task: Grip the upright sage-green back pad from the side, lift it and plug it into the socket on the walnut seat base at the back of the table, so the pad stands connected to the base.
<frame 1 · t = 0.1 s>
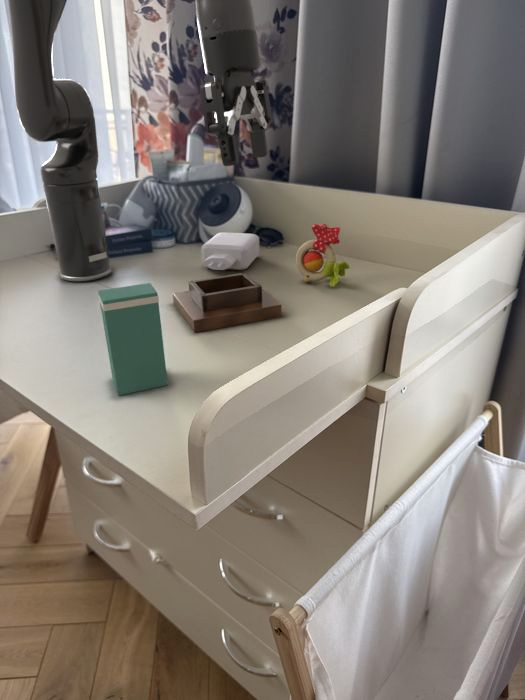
hand: (246, 161, 78), 22 cm above the table, tool pointing down, fingers open, 8 cm apart
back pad: (140, 383, 66), on the table
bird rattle: (320, 284, 97), on the table
charger: (227, 267, 106), on the table
seat base: (226, 310, 87), on the table
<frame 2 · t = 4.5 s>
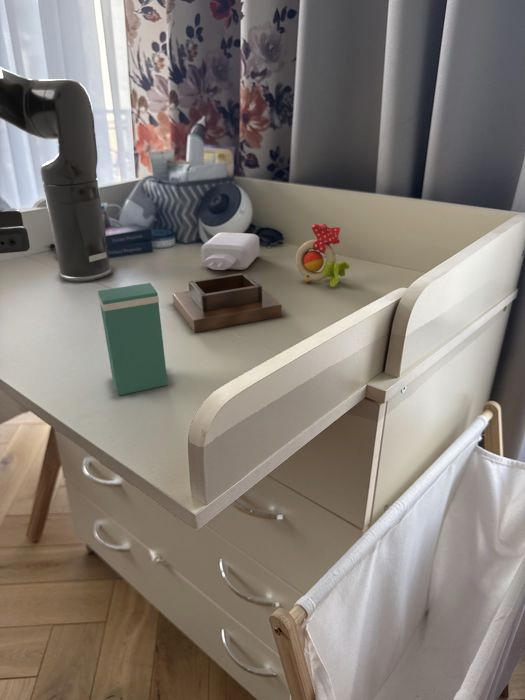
hand: (25, 228, 54), 20 cm above the table, tool horizontal, fingers open, 8 cm apart
nothing on the table moved.
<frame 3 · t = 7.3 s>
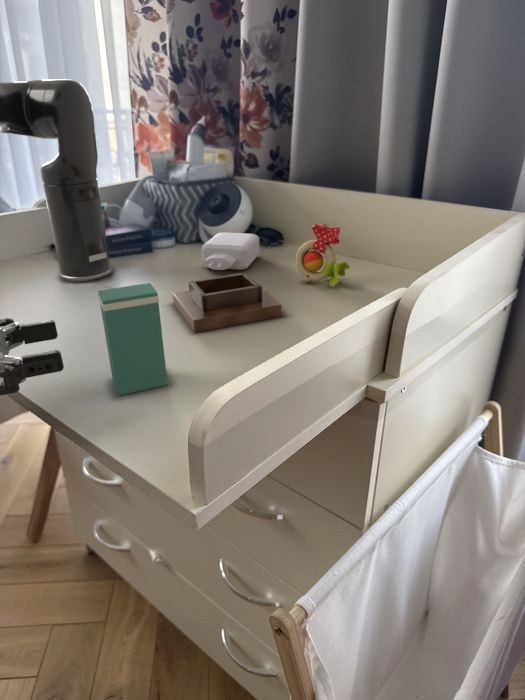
hand: (59, 343, 60), 7 cm above the table, tool horizontal, fingers open, 8 cm apart
nothing on the table moved.
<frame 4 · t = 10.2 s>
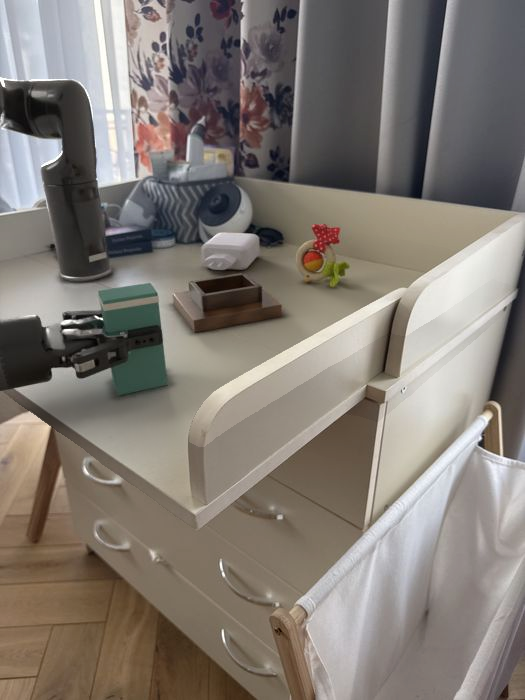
hand: (156, 327, 64), 7 cm above the table, tool horizontal, fingers closed on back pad, 3 cm apart
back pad: (140, 383, 66), on the table, touching gripper
everything else where it was.
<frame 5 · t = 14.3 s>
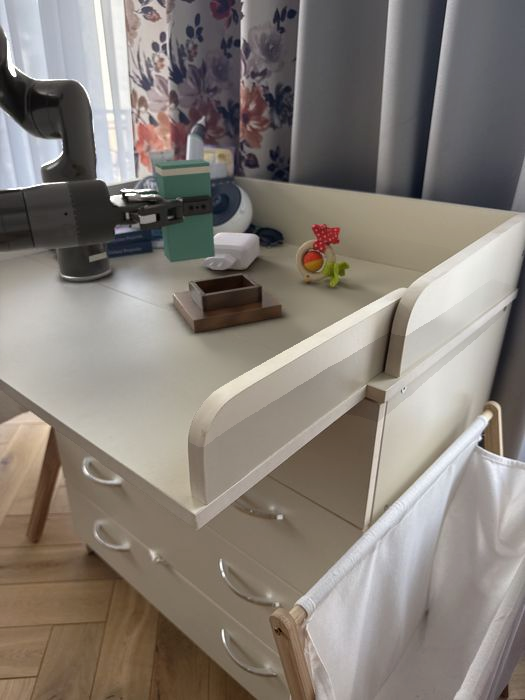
hand: (206, 201, 71), 19 cm above the table, tool horizontal, fingers closed on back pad, 3 cm apart
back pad: (189, 256, 73), point 12 cm above the table, touching gripper
everything else where it was.
when the fingers open (9 cm above the table, at t = 18.7 s): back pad stays where it is, resting on seat base.
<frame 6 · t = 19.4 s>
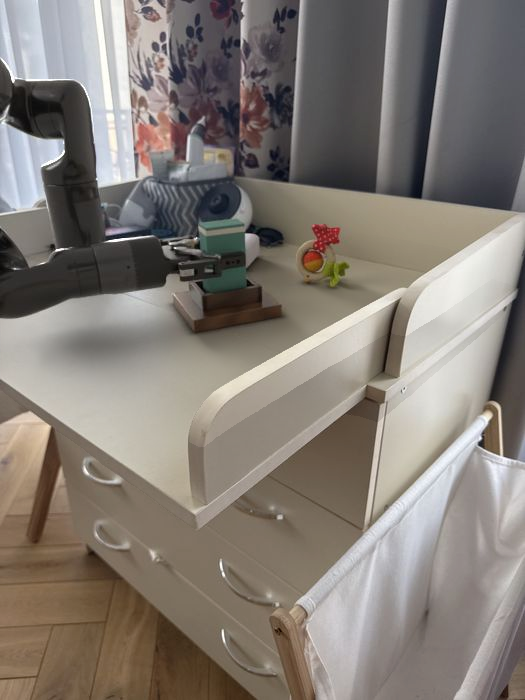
hand: (234, 250, 83), 10 cm above the table, tool horizontal, fingers open, 8 cm apart
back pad: (225, 299, 86), point 2 cm above the table, touching seat base
everything else where it was.
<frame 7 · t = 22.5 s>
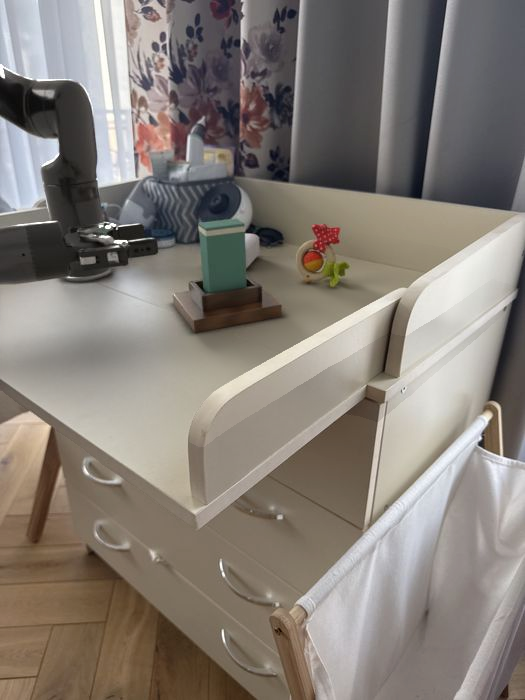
hand: (150, 237, 77), 13 cm above the table, tool horizontal, fingers open, 8 cm apart
nothing on the table moved.
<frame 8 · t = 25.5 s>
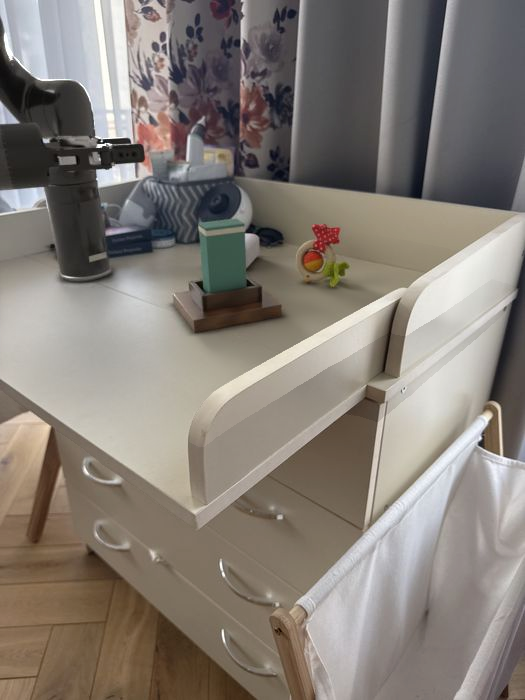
hand: (137, 148, 71), 25 cm above the table, tool horizontal, fingers open, 8 cm apart
nothing on the table moved.
at the end: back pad 0.1 cm off-centre on the seat base, point 2.0 cm above the seat base's base; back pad tilted 0°; the gripper is holding nothing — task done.
